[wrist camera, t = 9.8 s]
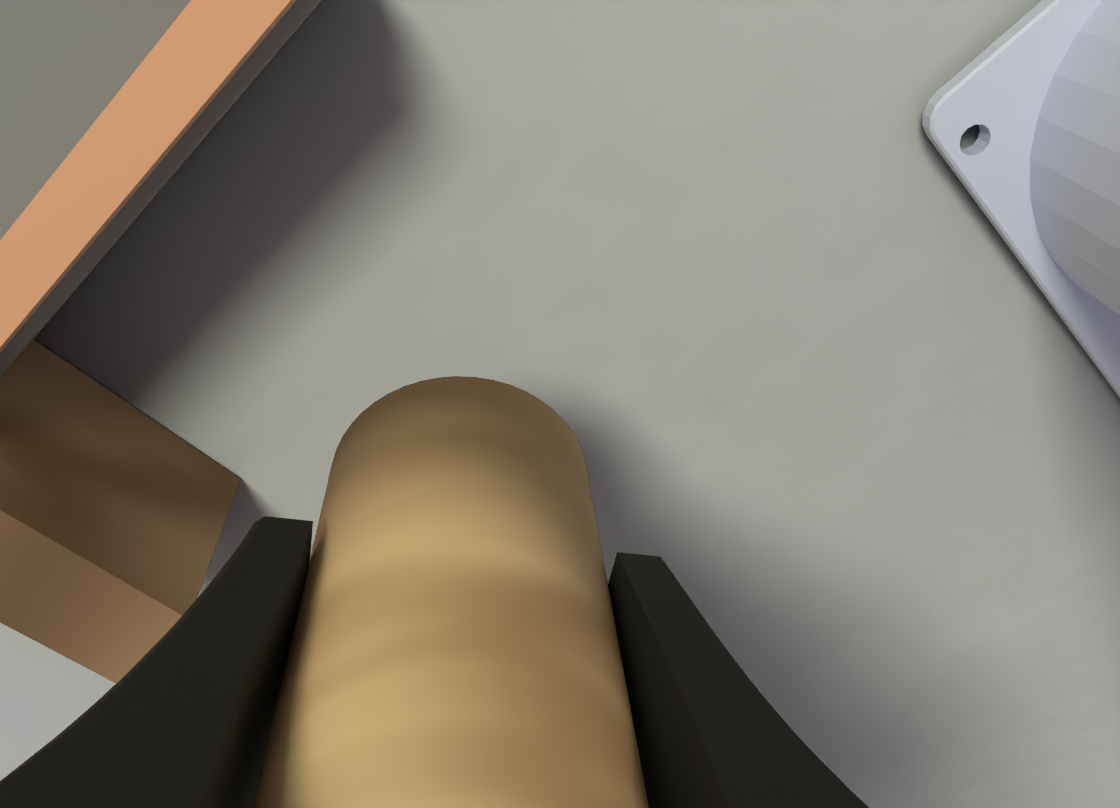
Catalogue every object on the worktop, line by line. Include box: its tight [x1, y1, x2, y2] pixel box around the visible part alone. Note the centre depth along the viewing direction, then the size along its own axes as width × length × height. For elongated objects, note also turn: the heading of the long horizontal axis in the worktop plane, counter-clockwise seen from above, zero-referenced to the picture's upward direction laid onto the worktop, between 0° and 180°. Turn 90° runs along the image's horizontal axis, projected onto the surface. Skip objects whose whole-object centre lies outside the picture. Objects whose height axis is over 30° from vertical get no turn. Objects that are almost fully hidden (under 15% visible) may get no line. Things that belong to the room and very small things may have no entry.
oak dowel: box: [252, 376, 649, 808], centre depth 11 cm, size 4×4×8 cm
